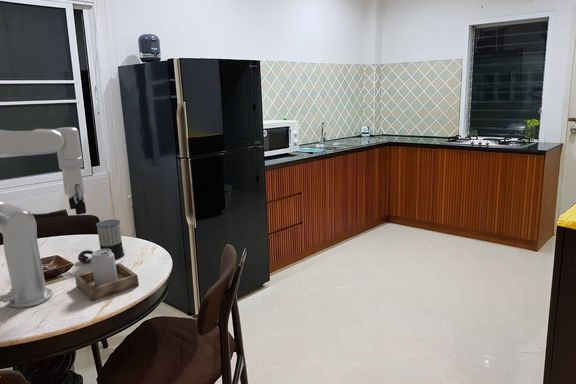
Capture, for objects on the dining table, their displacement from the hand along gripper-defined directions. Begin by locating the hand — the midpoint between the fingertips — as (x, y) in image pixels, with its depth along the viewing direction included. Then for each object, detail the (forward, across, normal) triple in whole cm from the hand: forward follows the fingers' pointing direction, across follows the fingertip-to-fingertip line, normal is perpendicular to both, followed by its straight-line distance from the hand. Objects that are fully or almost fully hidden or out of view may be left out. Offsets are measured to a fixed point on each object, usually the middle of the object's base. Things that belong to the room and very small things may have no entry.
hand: (78, 211), depth 157 cm
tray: (+26, +12, +4) cm, 28 cm away
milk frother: (+26, -18, +10) cm, 33 cm away
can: (+25, +12, +4) cm, 28 cm away
